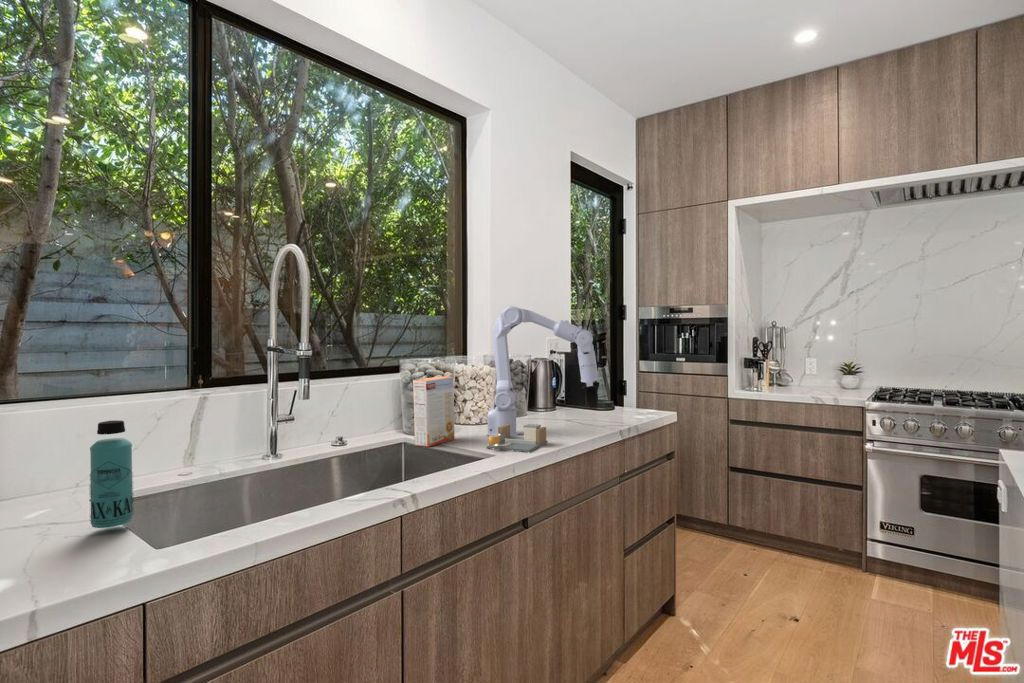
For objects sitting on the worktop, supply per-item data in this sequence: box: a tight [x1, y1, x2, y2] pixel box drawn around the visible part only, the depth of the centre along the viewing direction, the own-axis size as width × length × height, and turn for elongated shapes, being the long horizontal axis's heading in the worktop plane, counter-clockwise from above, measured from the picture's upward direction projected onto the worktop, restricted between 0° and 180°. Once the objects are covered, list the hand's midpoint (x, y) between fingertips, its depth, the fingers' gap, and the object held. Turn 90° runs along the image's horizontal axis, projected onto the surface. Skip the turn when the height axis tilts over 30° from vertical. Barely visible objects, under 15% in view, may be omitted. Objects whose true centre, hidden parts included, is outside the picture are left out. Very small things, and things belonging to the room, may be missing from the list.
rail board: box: [486, 424, 548, 453], centre depth 172 cm, size 14×15×5 cm
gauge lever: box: [488, 435, 500, 445], centre depth 167 cm, size 6×2×2 cm, turn 156°
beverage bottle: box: [88, 420, 135, 529], centre depth 101 cm, size 6×7×20 cm
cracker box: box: [412, 375, 455, 448], centre depth 179 cm, size 14×6×21 cm, turn 149°
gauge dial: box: [492, 433, 511, 447], centre depth 171 cm, size 6×6×3 cm
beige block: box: [523, 423, 542, 441], centre depth 174 cm, size 4×4×5 cm
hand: (593, 405), depth 186 cm, fingers open, 7 cm apart
